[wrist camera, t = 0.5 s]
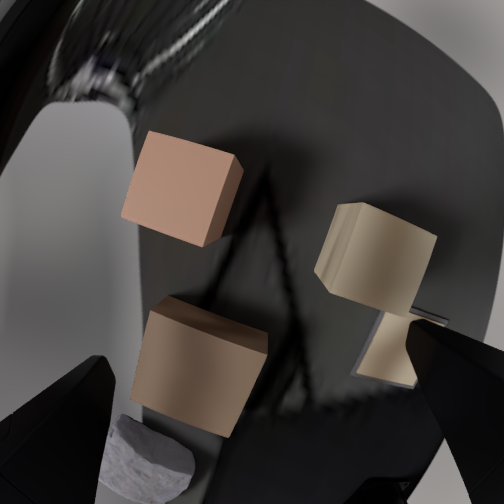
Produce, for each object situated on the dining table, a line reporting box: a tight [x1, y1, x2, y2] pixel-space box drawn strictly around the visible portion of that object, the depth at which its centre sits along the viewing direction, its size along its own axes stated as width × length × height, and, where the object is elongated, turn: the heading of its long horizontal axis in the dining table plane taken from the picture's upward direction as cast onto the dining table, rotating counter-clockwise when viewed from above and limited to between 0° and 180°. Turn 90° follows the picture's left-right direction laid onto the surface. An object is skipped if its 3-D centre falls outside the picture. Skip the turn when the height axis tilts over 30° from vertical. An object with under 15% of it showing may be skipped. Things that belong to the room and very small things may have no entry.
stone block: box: [99, 414, 195, 504], centre depth 24 cm, size 12×5×10 cm
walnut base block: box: [130, 296, 268, 438], centre depth 21 cm, size 8×8×4 cm
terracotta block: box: [121, 131, 244, 247], centre depth 18 cm, size 5×5×6 cm
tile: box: [349, 307, 448, 389], centre depth 21 cm, size 7×7×1 cm
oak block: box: [314, 202, 437, 318], centre depth 18 cm, size 5×5×6 cm
